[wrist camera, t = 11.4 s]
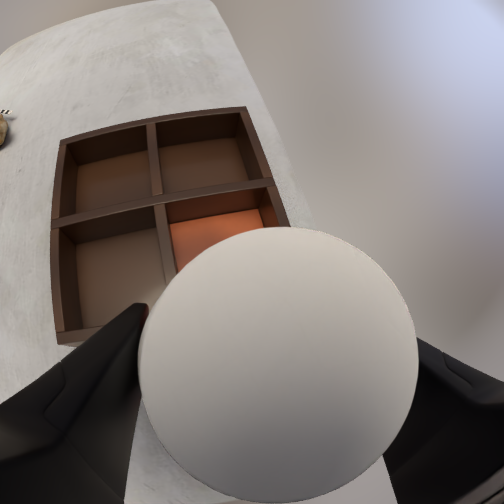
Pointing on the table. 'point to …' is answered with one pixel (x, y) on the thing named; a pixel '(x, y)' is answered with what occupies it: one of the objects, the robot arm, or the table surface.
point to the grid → (149, 209)
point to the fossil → (3, 125)
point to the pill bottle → (278, 365)
